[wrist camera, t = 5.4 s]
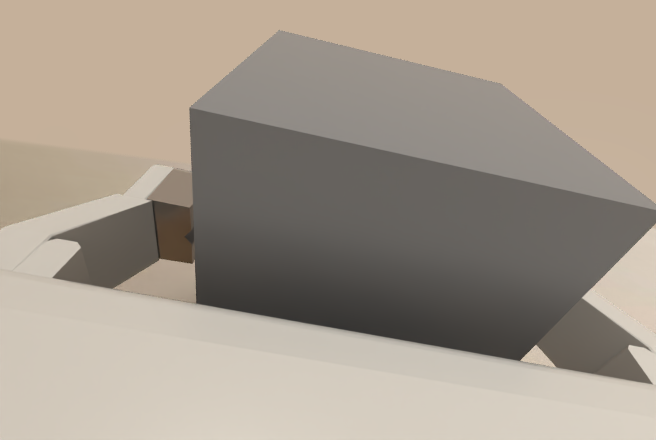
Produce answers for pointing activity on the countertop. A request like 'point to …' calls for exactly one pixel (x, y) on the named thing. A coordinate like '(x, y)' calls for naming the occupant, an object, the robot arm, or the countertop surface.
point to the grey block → (397, 201)
